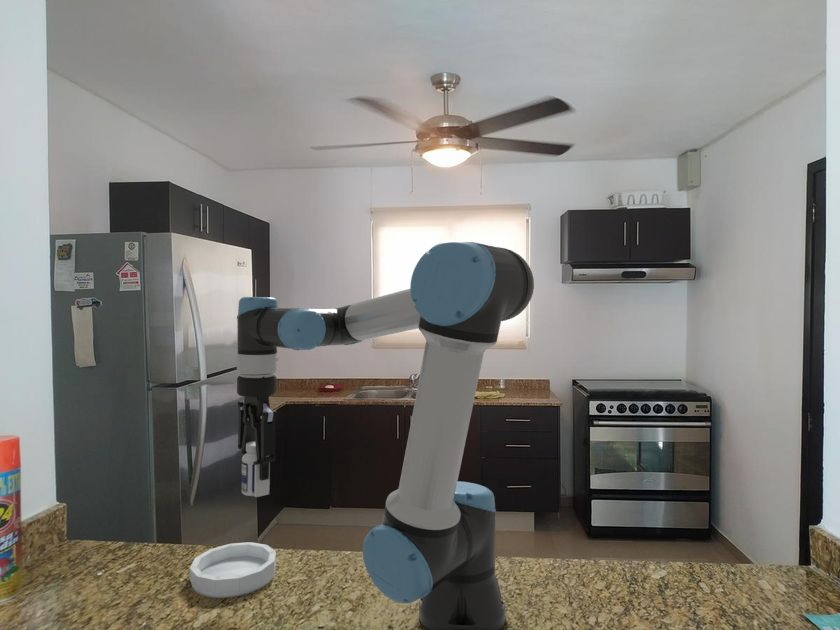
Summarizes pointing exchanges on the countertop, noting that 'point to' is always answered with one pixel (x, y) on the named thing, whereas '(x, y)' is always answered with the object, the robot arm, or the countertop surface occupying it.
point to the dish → (233, 570)
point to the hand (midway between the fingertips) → (255, 490)
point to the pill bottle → (249, 469)
